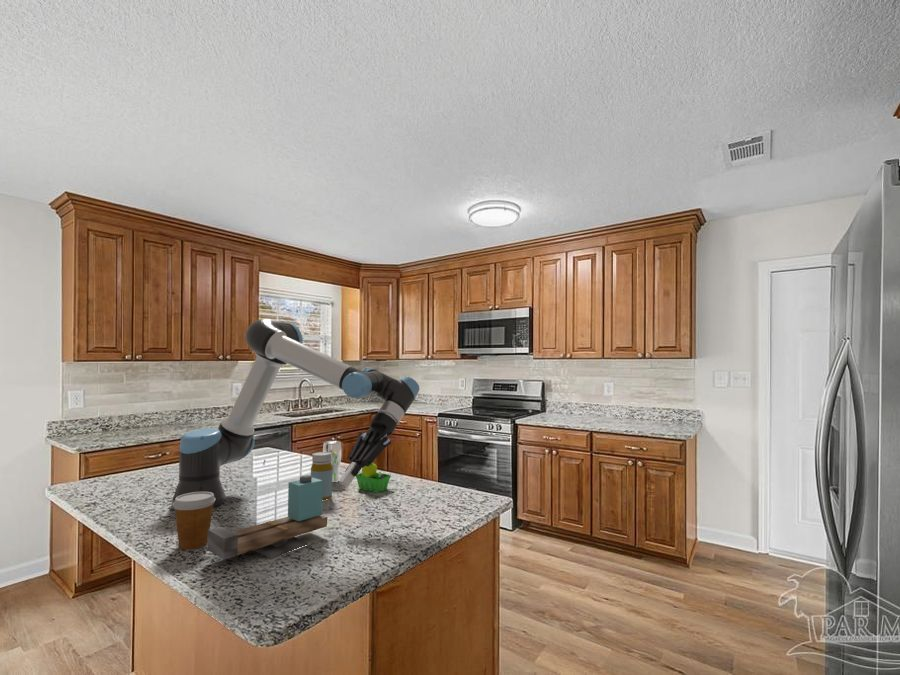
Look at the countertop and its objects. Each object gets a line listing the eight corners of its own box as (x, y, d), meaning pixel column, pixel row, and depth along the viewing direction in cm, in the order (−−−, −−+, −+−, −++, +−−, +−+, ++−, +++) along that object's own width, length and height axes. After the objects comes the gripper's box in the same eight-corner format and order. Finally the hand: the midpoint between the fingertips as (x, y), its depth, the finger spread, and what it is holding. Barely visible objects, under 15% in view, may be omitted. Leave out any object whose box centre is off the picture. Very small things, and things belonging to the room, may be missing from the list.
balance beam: (305, 527, 130) (305, 501, 130) (331, 538, 122) (331, 510, 123) (203, 558, 109) (204, 528, 110) (227, 573, 101) (228, 540, 102)
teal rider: (310, 518, 127) (311, 472, 128) (321, 522, 124) (322, 475, 125) (287, 525, 122) (288, 477, 123) (298, 529, 119) (299, 480, 119)
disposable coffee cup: (182, 538, 122) (184, 491, 122) (220, 537, 123) (221, 490, 123) (163, 553, 112) (165, 502, 113) (204, 551, 113) (206, 501, 114)
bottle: (334, 495, 161) (335, 451, 161) (327, 502, 154) (328, 455, 154) (315, 495, 161) (315, 451, 162) (306, 501, 154) (307, 455, 155)
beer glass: (324, 484, 175) (325, 444, 176) (320, 480, 182) (321, 441, 182) (343, 482, 179) (343, 442, 179) (338, 478, 185) (339, 440, 186)
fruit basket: (392, 489, 170) (392, 457, 170) (375, 494, 162) (376, 462, 163) (368, 484, 176) (368, 454, 176) (351, 490, 168) (352, 458, 169)
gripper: (408, 428, 144) (365, 495, 130) (379, 424, 152) (336, 487, 138) (395, 412, 140) (350, 480, 126) (366, 409, 148) (321, 473, 134)
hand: (343, 484), depth 132 cm, fingers closed
